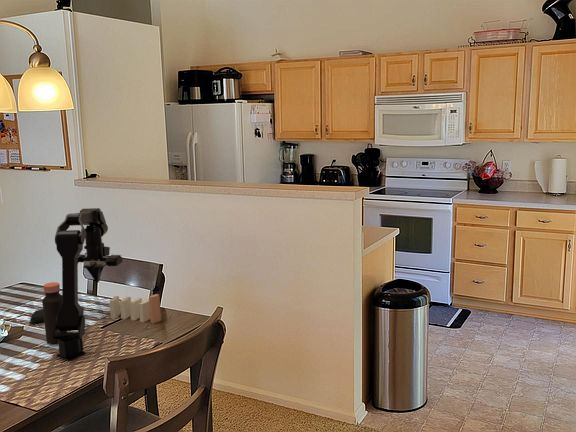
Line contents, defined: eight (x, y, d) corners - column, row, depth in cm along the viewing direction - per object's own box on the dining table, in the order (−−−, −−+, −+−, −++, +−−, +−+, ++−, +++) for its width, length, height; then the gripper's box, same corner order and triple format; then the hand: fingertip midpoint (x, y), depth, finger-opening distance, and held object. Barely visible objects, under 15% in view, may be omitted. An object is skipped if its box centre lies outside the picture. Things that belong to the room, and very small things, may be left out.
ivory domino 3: (142, 315, 214) (141, 298, 212) (134, 320, 209) (133, 302, 208) (139, 315, 214) (138, 297, 213) (131, 320, 210) (129, 302, 208)
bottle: (59, 345, 188) (53, 288, 184) (42, 343, 190) (35, 286, 186) (72, 337, 194) (66, 282, 190) (55, 335, 196) (49, 280, 192)
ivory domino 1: (120, 313, 216) (119, 296, 215) (114, 318, 211) (113, 300, 210) (116, 313, 216) (115, 296, 215) (110, 318, 211) (109, 300, 210)
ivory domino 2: (132, 314, 215) (130, 296, 214) (125, 319, 210) (123, 301, 209) (128, 314, 216) (126, 296, 214) (121, 319, 211) (119, 301, 209)
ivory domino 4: (152, 317, 211) (151, 299, 210) (143, 322, 207) (142, 304, 206) (149, 317, 212) (148, 299, 211) (140, 321, 208) (138, 303, 207)
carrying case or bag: (29, 327, 206) (72, 322, 209) (28, 319, 205) (71, 314, 209) (33, 316, 216) (74, 312, 220) (32, 309, 215) (73, 305, 219)
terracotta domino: (161, 320, 208) (159, 294, 206) (153, 323, 206) (151, 297, 204) (158, 319, 209) (156, 294, 207) (150, 322, 207) (148, 296, 205)
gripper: (126, 236, 215) (129, 275, 219) (80, 236, 217) (83, 275, 221) (114, 244, 204) (118, 285, 208) (65, 243, 207) (69, 284, 210)
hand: (97, 282), depth 212 cm, fingers closed
